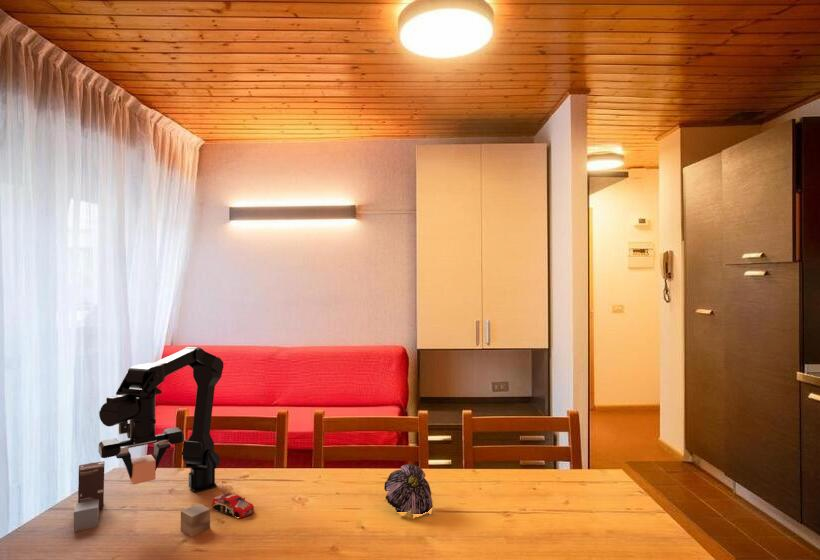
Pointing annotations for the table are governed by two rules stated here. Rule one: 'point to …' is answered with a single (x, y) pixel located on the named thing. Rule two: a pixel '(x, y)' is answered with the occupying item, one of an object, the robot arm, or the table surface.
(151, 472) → the terracotta block
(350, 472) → the table surface
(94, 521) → the gray block
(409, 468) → the decorative flower
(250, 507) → the race car
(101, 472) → the box
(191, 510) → the metal block
